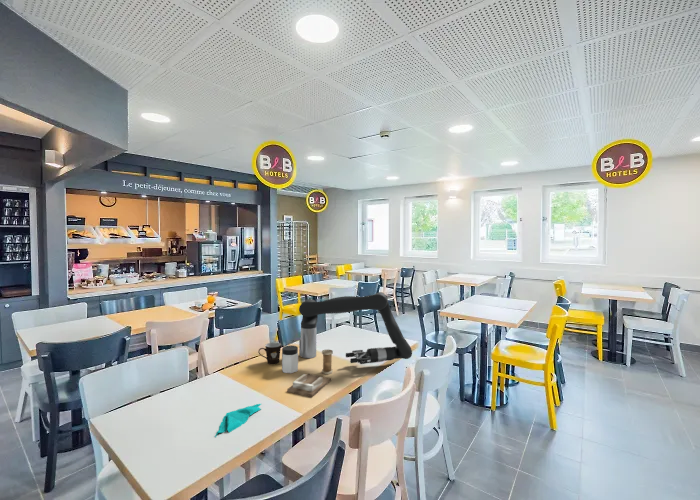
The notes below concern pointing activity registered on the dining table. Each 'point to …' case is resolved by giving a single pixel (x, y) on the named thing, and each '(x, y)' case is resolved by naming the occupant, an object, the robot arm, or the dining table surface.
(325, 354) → the bobbin
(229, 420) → the cloth
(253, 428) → the dining table surface
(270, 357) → the coffee mug
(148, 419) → the dining table surface
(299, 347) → the robot arm
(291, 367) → the jar
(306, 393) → the brown board with bracket
